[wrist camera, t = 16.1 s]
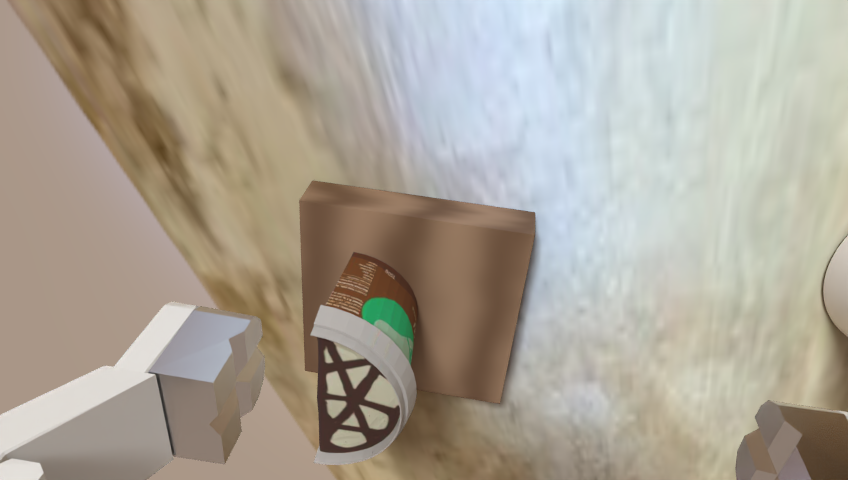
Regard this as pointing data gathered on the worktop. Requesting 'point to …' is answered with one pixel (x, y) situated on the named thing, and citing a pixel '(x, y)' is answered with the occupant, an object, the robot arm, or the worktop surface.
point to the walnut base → (426, 276)
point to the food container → (364, 361)
